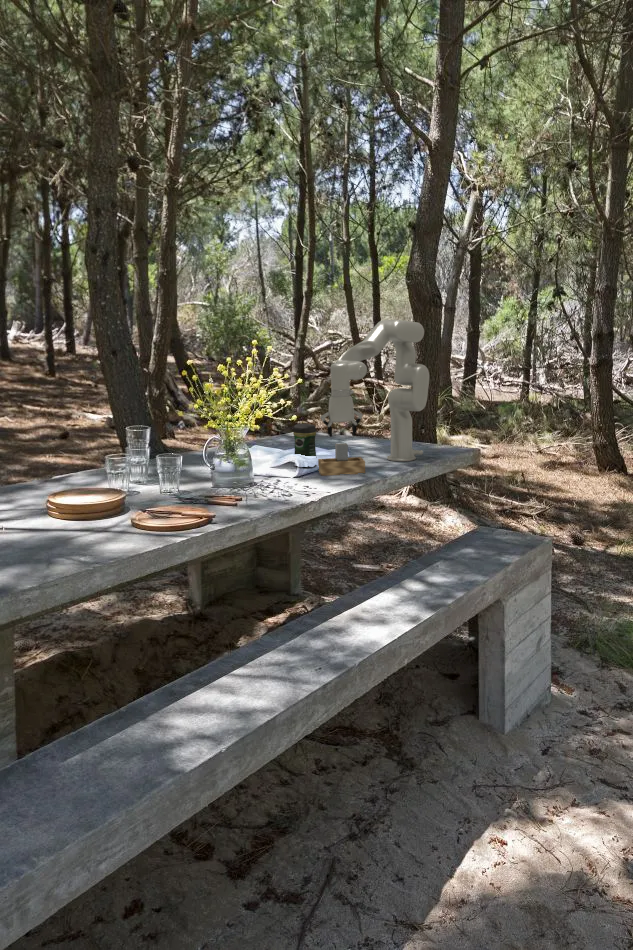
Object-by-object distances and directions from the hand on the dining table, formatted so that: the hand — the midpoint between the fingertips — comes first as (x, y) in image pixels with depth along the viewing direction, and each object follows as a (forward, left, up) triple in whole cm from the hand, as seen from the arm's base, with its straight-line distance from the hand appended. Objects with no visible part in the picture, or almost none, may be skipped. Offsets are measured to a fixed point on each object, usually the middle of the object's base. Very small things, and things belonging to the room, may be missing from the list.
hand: (342, 435), depth 332 cm
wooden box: (+1, 0, -15) cm, 15 cm away
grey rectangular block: (0, 0, -15) cm, 15 cm away
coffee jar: (+14, -17, -16) cm, 26 cm away
